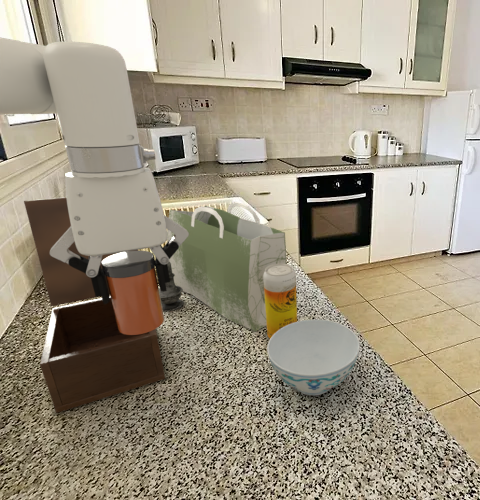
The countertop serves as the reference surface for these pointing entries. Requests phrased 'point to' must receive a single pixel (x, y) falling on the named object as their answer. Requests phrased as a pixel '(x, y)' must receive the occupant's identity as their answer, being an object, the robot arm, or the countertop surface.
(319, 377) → the chinaware
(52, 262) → the chest lid
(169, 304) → the grey chess piece
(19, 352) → the countertop surface
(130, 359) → the chest
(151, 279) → the jar
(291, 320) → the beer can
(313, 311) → the countertop surface
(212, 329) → the countertop surface
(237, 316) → the grocery bag
